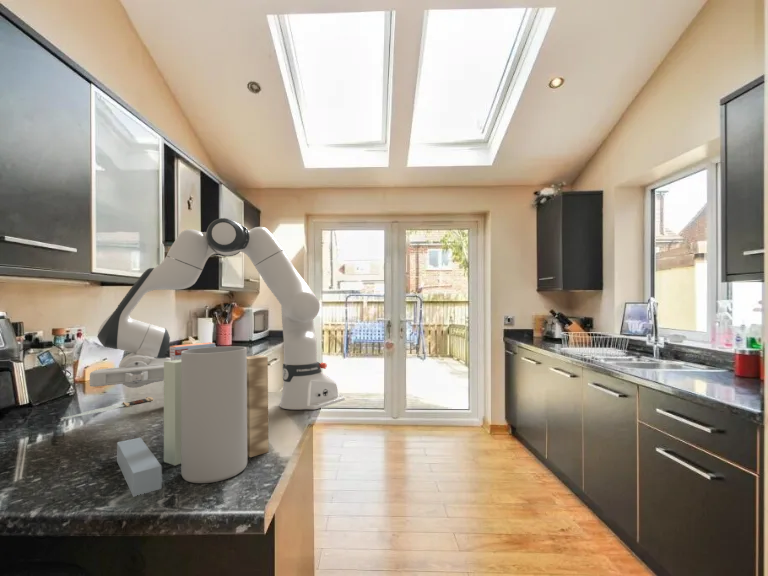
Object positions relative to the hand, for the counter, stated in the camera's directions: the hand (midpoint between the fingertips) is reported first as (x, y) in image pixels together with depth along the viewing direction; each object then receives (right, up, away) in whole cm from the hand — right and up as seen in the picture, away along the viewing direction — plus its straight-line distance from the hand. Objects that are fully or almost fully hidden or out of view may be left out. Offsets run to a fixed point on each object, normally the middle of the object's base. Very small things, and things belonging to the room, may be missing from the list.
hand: (136, 378), depth 99 cm
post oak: (+33, -15, -9) cm, 38 cm away
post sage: (+18, -15, -13) cm, 26 cm away
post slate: (+5, -14, -11) cm, 18 cm away
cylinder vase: (+28, -15, -19) cm, 37 cm away
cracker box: (-5, -18, +40) cm, 44 cm away
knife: (-30, -19, +33) cm, 49 cm away
